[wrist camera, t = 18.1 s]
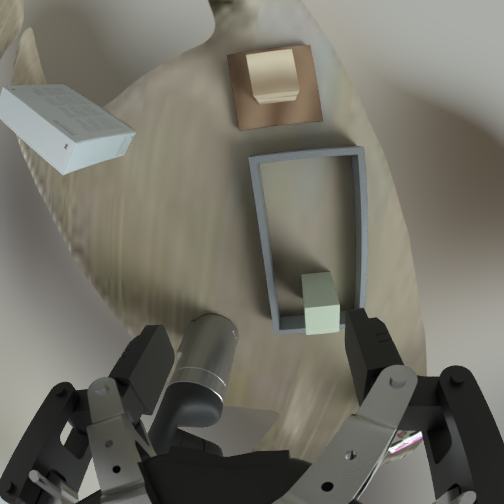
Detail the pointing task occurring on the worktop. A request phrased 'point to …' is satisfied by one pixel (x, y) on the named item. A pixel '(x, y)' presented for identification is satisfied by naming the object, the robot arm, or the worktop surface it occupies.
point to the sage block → (320, 303)
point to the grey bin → (361, 226)
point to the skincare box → (63, 125)
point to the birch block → (273, 76)
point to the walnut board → (279, 112)
